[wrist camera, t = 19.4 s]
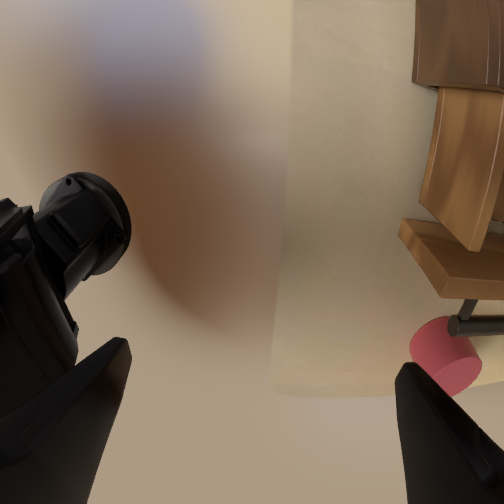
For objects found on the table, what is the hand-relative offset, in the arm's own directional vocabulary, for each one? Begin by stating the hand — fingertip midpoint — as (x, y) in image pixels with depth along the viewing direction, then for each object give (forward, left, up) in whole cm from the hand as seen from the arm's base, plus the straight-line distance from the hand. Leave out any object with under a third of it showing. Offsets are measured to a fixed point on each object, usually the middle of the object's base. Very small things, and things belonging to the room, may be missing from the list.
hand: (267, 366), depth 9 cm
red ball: (+5, -18, -12) cm, 22 cm away
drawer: (+13, -8, -11) cm, 19 cm away
